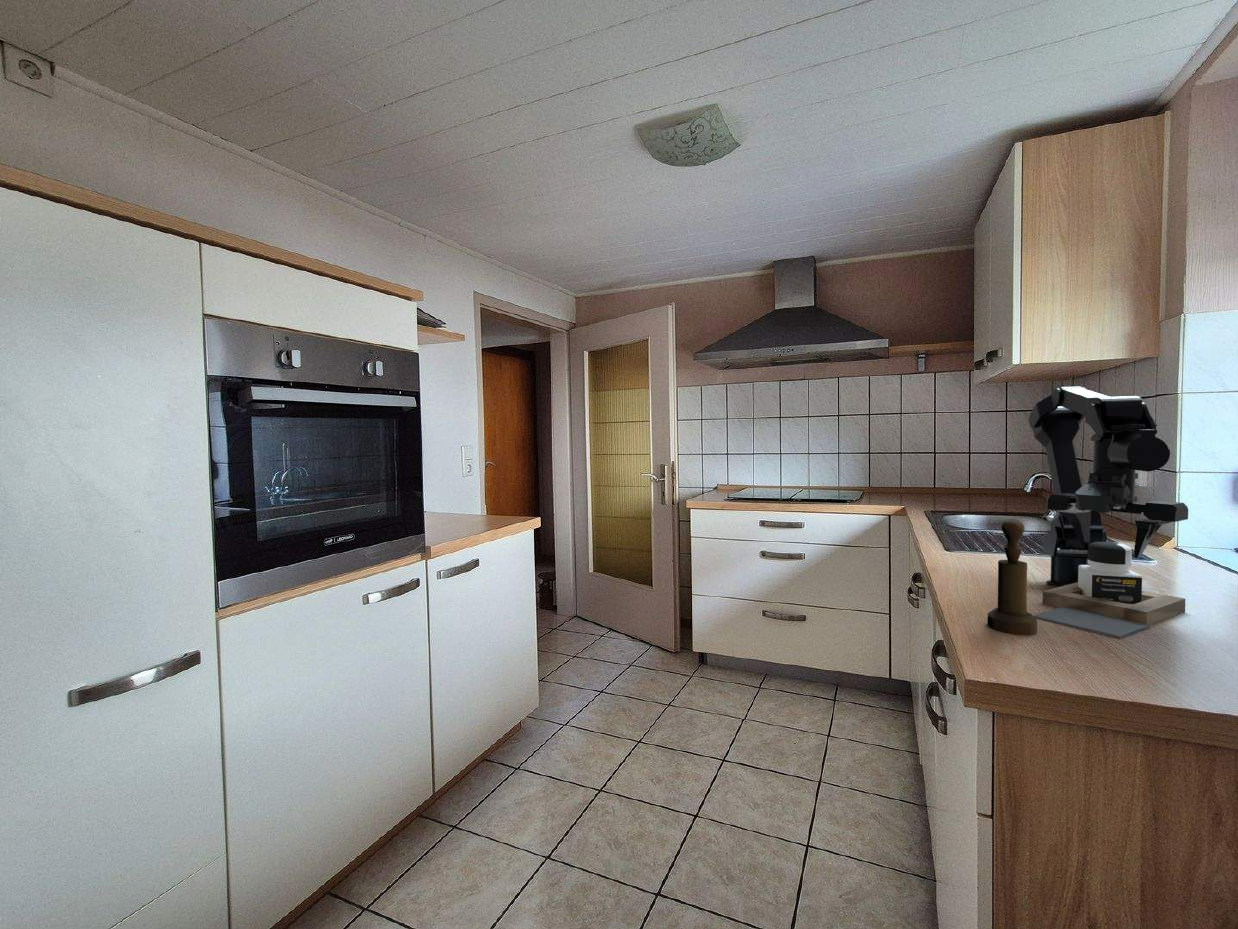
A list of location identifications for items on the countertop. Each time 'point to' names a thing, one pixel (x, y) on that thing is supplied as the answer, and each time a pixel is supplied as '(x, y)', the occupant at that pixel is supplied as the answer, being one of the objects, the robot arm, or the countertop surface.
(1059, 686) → the countertop surface
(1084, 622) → the mat
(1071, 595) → the brown flat square frame
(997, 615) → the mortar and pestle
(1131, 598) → the medicine bottle
